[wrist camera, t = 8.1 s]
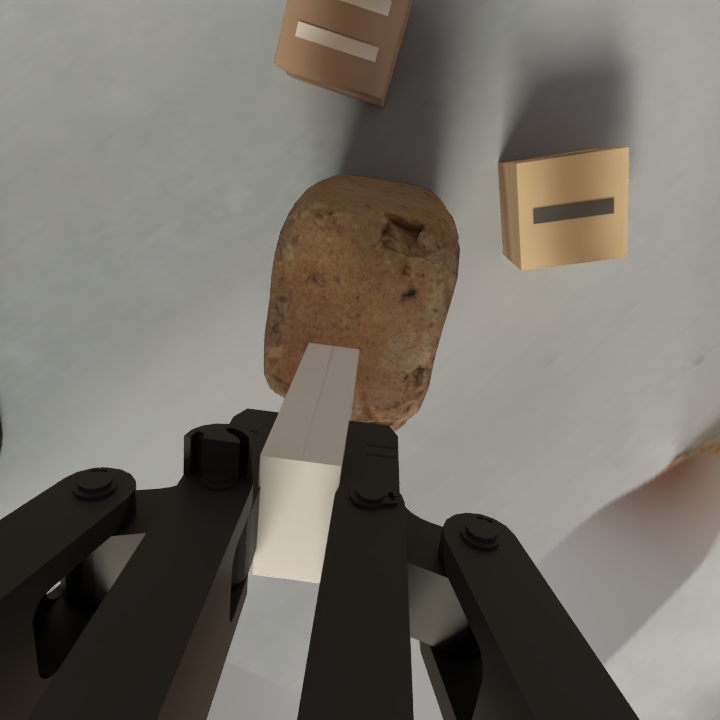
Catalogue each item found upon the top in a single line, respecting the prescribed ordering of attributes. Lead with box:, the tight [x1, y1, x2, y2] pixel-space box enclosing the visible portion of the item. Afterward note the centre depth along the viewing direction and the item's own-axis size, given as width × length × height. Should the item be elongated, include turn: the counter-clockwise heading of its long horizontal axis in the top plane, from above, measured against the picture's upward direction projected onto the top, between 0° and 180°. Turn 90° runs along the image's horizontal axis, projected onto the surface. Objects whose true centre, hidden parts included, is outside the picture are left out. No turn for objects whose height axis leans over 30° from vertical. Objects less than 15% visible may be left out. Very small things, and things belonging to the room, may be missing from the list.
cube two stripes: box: [274, 0, 414, 107], centre depth 31 cm, size 6×6×6 cm
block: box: [264, 175, 460, 431], centre depth 29 cm, size 11×8×20 cm
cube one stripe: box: [498, 147, 629, 271], centre depth 34 cm, size 6×6×6 cm
